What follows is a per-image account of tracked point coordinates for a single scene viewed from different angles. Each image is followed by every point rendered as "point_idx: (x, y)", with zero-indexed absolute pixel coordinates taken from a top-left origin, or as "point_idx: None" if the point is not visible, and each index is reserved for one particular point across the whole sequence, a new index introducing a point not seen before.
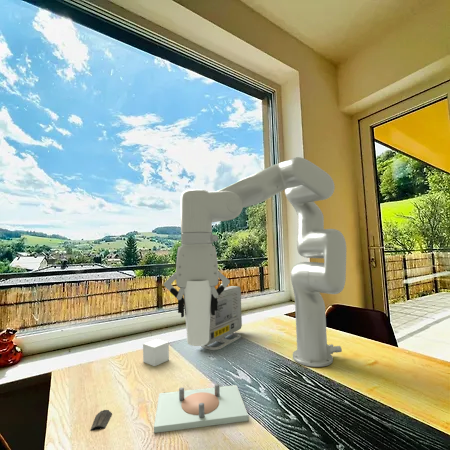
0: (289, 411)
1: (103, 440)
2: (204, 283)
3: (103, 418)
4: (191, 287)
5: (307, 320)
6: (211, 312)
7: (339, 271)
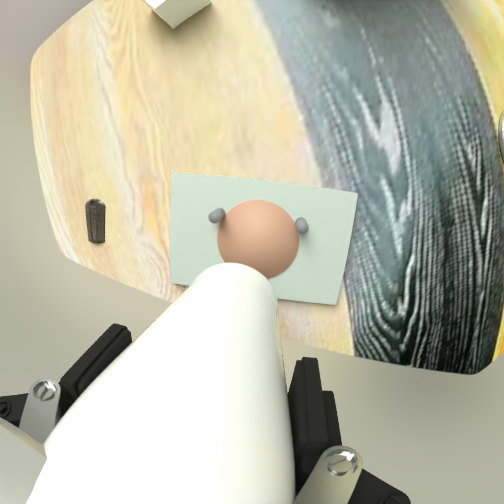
0: (407, 296)
1: (110, 269)
2: None
3: (95, 223)
4: None
5: None
6: (289, 394)
7: None
